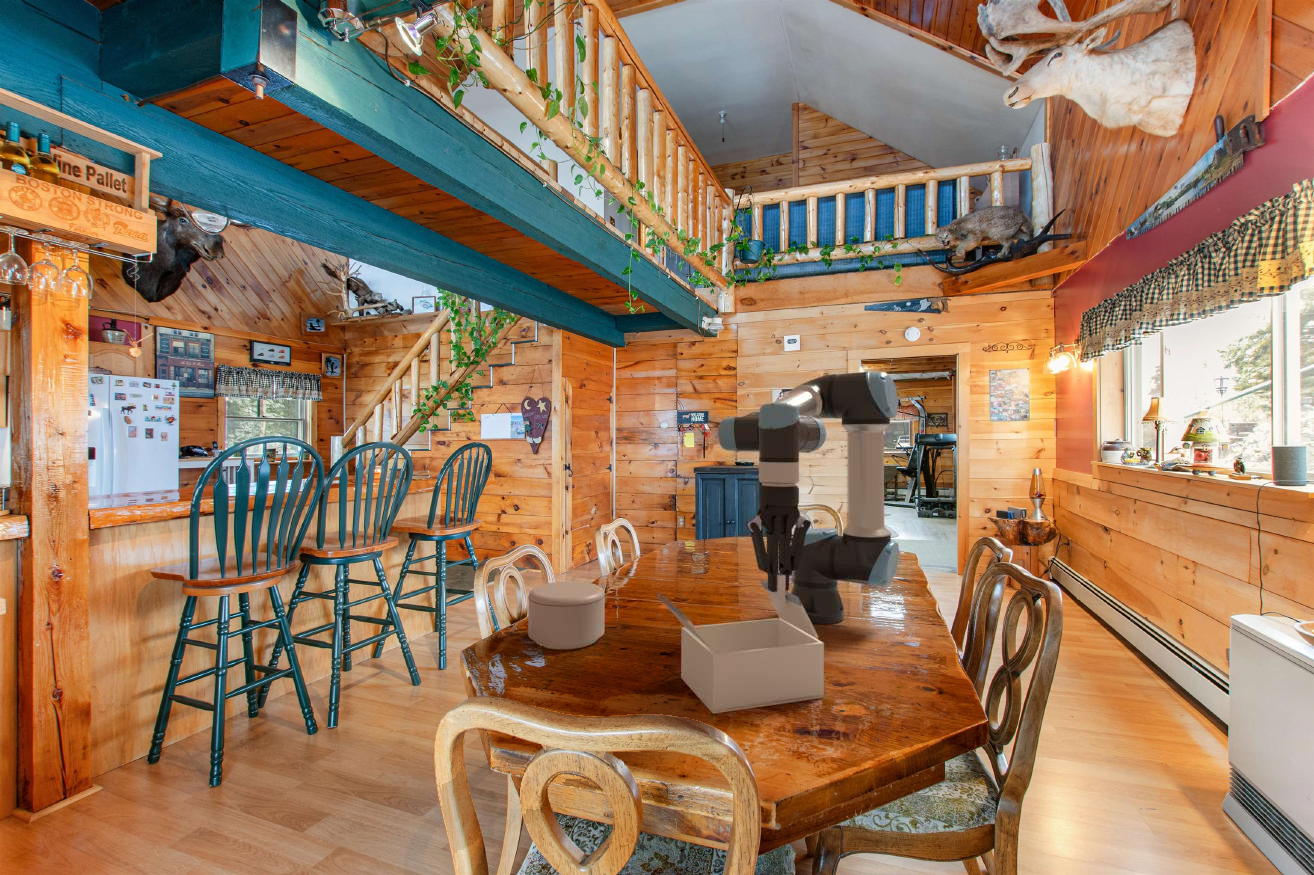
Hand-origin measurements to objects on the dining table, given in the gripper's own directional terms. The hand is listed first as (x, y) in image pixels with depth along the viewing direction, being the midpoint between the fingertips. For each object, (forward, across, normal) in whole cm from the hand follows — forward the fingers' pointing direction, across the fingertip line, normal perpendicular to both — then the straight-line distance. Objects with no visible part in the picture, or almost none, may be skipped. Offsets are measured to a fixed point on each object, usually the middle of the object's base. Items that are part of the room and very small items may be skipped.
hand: (778, 608), depth 112 cm
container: (+16, +34, -40) cm, 55 cm away
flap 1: (+1, +18, -2) cm, 18 cm away
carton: (+15, +5, -2) cm, 16 cm away
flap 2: (+1, -3, -2) cm, 4 cm away
